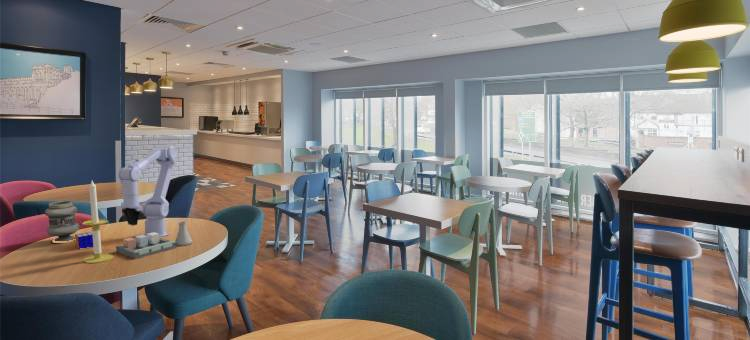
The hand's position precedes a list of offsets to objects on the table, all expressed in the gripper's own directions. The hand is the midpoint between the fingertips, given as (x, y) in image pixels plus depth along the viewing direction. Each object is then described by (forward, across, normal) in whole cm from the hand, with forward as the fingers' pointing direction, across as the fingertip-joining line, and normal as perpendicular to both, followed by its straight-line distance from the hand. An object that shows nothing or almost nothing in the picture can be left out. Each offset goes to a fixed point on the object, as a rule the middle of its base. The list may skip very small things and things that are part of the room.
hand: (132, 224), depth 179 cm
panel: (+9, +10, 0) cm, 14 cm away
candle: (+10, +6, -17) cm, 21 cm away
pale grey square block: (+8, +7, +5) cm, 12 cm away
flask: (+10, +16, +14) cm, 23 cm away
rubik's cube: (+10, -16, -13) cm, 22 cm away
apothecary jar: (+10, -33, -15) cm, 37 cm away
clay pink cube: (+8, +7, -5) cm, 12 cm away
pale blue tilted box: (+8, +7, 0) cm, 11 cm away
